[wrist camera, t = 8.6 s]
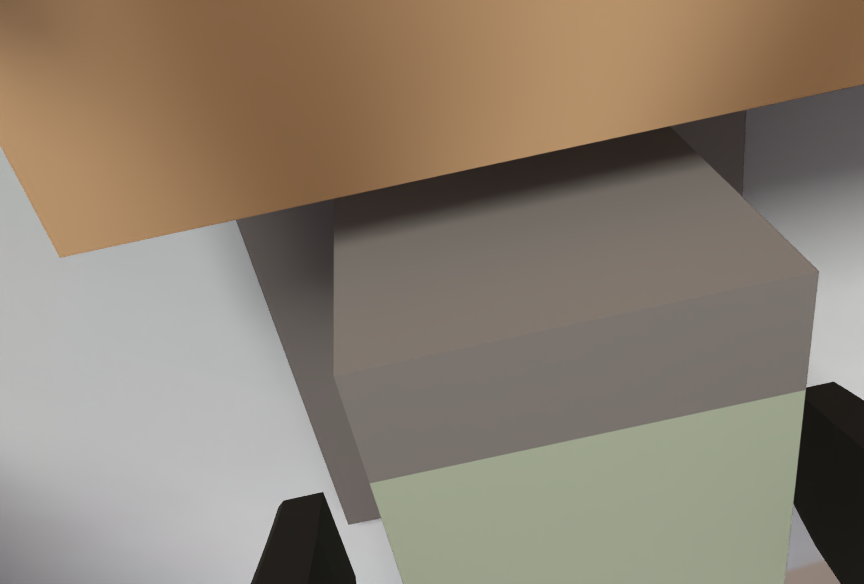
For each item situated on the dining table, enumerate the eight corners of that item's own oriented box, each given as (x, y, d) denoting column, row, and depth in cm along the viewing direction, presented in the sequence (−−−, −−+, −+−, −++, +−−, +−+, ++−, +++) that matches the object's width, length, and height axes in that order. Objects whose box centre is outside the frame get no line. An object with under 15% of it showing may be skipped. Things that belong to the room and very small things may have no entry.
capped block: (424, 478, 17) (462, 758, 12) (334, 150, 13) (333, 375, 8) (643, 431, 17) (772, 693, 12) (627, 85, 13) (819, 271, 8)
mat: (348, 511, 18) (348, 524, 18) (221, 163, 13) (218, 172, 13) (723, 432, 18) (730, 443, 18) (737, 51, 13) (748, 58, 13)
